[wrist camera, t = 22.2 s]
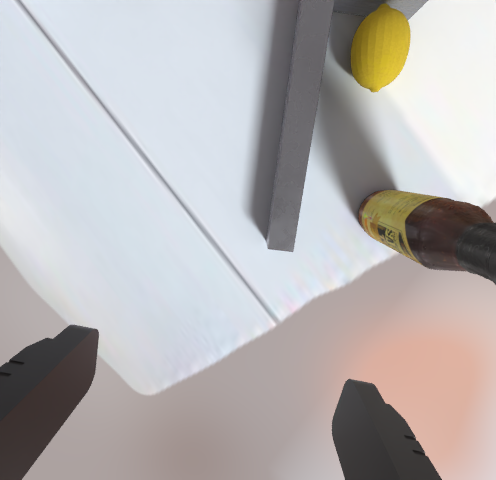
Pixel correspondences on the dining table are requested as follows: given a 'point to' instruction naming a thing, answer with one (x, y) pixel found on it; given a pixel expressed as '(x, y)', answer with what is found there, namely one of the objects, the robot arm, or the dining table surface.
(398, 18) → the lemon
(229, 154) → the dining table surface
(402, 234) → the sauce bottle
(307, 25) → the crook tool
